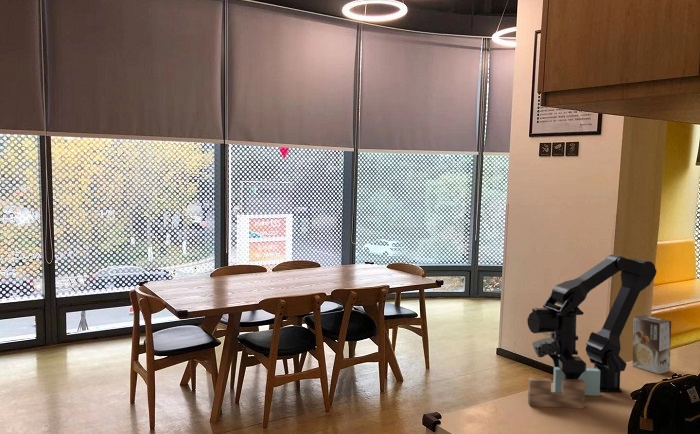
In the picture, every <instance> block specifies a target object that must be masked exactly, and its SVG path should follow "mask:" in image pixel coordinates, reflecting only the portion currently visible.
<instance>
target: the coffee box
mask: <svg viewBox="0 0 700 434" xmlns="http://www.w3.org/2000/svg"><path fill="white" fill-rule="evenodd" d="M632 327H633V329H632V330H633V331H632V332H633V334H632V367H635V368H638V369H642V370H645V371H647V372H650V373H654V374H657V375H662V374H664V373H667V372H670V371H671V344H672V343H671V341H672V340H671V338H672V320H668V319H664V318H660V317H659V318H658V317H656V316H652V315H648V314H647V315H646V314H643V315H637V316H634V317H633V326H632Z"/></svg>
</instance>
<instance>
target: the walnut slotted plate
mask: <svg viewBox="0 0 700 434" xmlns="http://www.w3.org/2000/svg"><path fill="white" fill-rule="evenodd" d="M527 379H528V382H527V385H528V388H527V404H528V406H529V407H548V408H569V409H570V408H571V409H572V408H573V409H574V408H575V409H585V398H586V395H585V382H584V381H583V379H562V381H561V392H553V391H552V380H551V379H550V378H547V377H528V378H527Z"/></svg>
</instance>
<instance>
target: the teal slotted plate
mask: <svg viewBox="0 0 700 434" xmlns="http://www.w3.org/2000/svg"><path fill="white" fill-rule="evenodd" d="M552 378H553V385H552V390H553V391H552V392H561V381H562V379H565V378H564V373H563V372H562V371H561V370H560V368H559V367H554V366H553V377H552ZM578 379H583V381H584V382H585V396H596V397H597V396H600V395H601V393H600V392H601V391H600V370H599V369H597V368H594V367H593V368H592V367H590V368H589V367H586V371H584V373H582V374H581V375H580V377H579V378H578Z"/></svg>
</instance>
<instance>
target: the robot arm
mask: <svg viewBox="0 0 700 434" xmlns="http://www.w3.org/2000/svg"><path fill="white" fill-rule="evenodd" d="M619 272H621V273H620V280H621V281H620V282H621V286H620V289H619V291H618V293H617V295H616V297H615V298H614V301H613V304H612V306H611V308H610V310H609V313H608V314H607V317H606V319H605V321H604V324H603V325H602V328H601V329H600V330H599V331H597V332H594V331H592V332H591V333H590V334H589V336H588V339H587V341H586V342H585V345H586V346H585V352H586V355H587V357H588V359H589V363H591V364H593V368H597V369H599V370H600V392H612V393H613V392H616V393H617V392H619V393H622V392H623V389H622V388H621V372H625V370H626V368H627V363H626V362H625V361H624V359H623V358H622V357H621V356H620V353H621V341H620V337H621V335H622V332H623V330H624V328H625V326H626V323H627V321H628V319H629V317H630V315H631V313H632V311H633V309H634V306H635V304H636V301H637V300H638V297H639V294H640V293H641V292H642V291H643V290H644V289H646V288H647V287H649V286H650V285H651V283H653V282H652V281H653V280H654V279H655V277H656V275H657V269H656V266H655V264H654V263H653V262H652V261H649V260H643V259H638V258H633V257H632V258H629V259H628V258H626V257H624V256H622V255H615V254H609V255H607V256H606V257H605V259H603V260H602V261H600V262H599V263H597V264H596V265H594V266H593V267H591V268H590V269H588V270H586V271H585V272H584V273H583V274H581V275H579V276H578V277H576V278H574V279H571V280H566V281H563V282H561V283H559V284H558V283H557V284H556V285H554V287H553V288H552V289H551V293H550V295H549V296H548V298H547V299H546V301H545V302H544V303H543V305H542V307H533V308H532V309H531V310H532V312H530V313H529V314H528V317H527V321H526V323H527V326H528V329H529V331H530V332H531V333H533V334H544V333H550V336H549V337H544V338H541V339H538V340H536V341H533V342H532V343H531V345H532V347H533V350H534V353H535V354H536V355H537V357H538V358H543V357H545V356H549V358H550V359H552V363H553V368H554V367H559V368H560V370H561V371H562V372H563V373H564V378H565V379H578V378H579V377H580V375H581V374H582V373H584V371H586V368H587V362H585V361H584V360H583V359H582V358H581V357H580V356H578V355H579V351H578V350H577V349H576V347H577V346H576V345H577V343H576V342H577V341H579V335H577V316H583V315H584V312H583V311H582V310H581V309H580V307H579V306H580V305H581V304H583V302H584V301H585V300H586V299H587V296H588V294H589V293H590V292H591V291H592V290H593V289H595V288H597V287H598V286H599V285H601V284H602V283H604V282H606V281H607V280H608V279H610V278H611V277H613V276H614V275H616V274H618V273H619Z"/></svg>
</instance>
